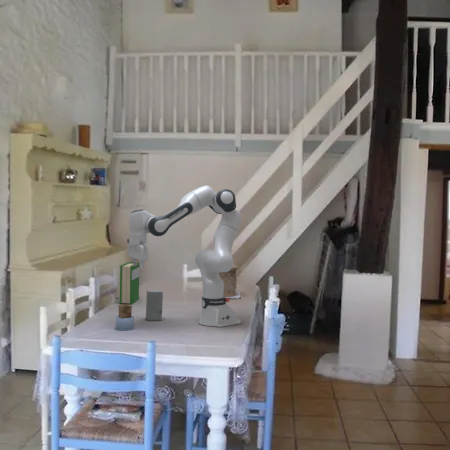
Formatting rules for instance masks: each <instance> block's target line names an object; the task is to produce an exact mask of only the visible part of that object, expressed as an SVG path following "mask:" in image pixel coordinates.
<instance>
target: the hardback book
mask: <svg viewBox="0 0 450 450" xmlns="http://www.w3.org/2000/svg"><path fill="white" fill-rule="evenodd" d="M139 265H140V262H137V266H133V261H131V262H128V261H127V262H125V263H124V264H123V263H122V264H121V265H119V266H120V267H119V305H123V304H129V305H131V306H132V305H133V304H134V303H136V302H138V301H139V299H140V268H139Z"/></svg>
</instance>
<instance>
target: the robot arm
mask: <svg viewBox="0 0 450 450" xmlns="http://www.w3.org/2000/svg"><path fill="white" fill-rule="evenodd" d="M206 207H209V208H210V209H211V210H212V211H213V212H214V213H215V214H218V215H221V218H220V221H219V222H218V225H217V228H216V230H215V232H214V235H213V237H212V238H213V240H214V247H213V249H202V250H199V251H198V252H197V253H196V254H195V259H194V261H195V264H196V266H197V268H198V270H199V273H200V277H201V279H202V296H201V315H200V318H199V322H198V323H199V324H200V325H203V326H207V327H218V328H223V327H228V326H234V325H240V324H241V323H242V321H241V320H240V319H238V316H237V313H236V311H235V309H233V308H232V307H231V306H230V305H228V304H227V303H230V301H231V299H229V298H225V297H223V293H224V283H223V281H222V279H221V278H220V275H219V273H222V272H228V271H230V270H231V269H232V267H233V264H234V257H233V256H232V250H233V249H232V248H233V246H234V242H235V239H236V237H237V235H238V232H239V229H240V227H241V222H242V220H243V216H242V213H241V212H240V211H239V210H237V209H236V208H237V201H236V195H235V193H234V192H233V191H232V190H231V189H227V188H223V189H220V190H219V191H218V192H216V191H214V189H213V187H212V186H209V185H203V186H200V187H197V188H195V189H193V190H191V191H190V192H188V193H186V194H184V195H183V197H182V198H180V201H179V204H178V206H177V207H176V208H174V209H173V210H171V211H169V212H167V213H166V214H164V215H160V216H158V215H155V214H152V213H150V212H148V211H147V210H145V209H136V210H133V211H131V213H130V214H129V224H128V226H129V231H130V232H129V235H128V236H129V237H128V238H127V239H126V243H127V254H128V256H129V257H130V258H131V262H133V266H137V263H138V262H137V260H139V269H144V266H145V261H148V260H149V248H148V245H147V236H148V235H147V234H151V235H152V236H154V237H162V236H164V235H165V234H167V233H168V231H169V229H170V228H171V227H172V226H173V225H175V224H176V223H179V221H181V220H182V219H184V218H185V217H188V216H190V215H194V214H195V213H197V212H199V211H200V210H202V209H204V208H206Z"/></svg>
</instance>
